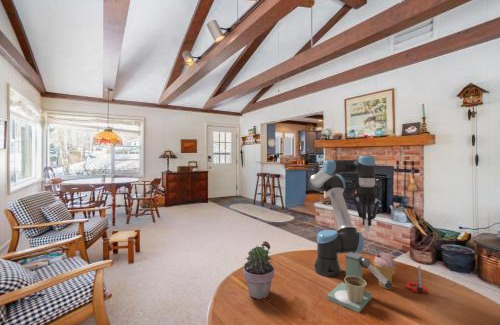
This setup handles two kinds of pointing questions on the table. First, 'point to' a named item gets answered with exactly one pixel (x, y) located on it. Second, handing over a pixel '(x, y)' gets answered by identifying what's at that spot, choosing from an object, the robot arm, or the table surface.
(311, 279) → the table surface
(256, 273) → the potted plant
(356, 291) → the flower pot
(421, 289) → the tow hook
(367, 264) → the lever
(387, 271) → the ice cream cone
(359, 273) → the press
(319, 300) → the table surface
